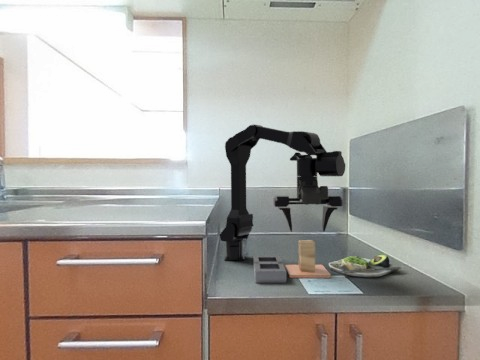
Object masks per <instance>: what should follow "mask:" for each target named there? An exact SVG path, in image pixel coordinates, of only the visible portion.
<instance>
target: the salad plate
mask: <svg viewBox="0 0 480 360" xmlns="http://www.w3.org/2000/svg"><path fill="white" fill-rule="evenodd" d="M343 266H345V267H346V268H347V269H341V267H343ZM328 267H329V268H330V269H331V270H333V272H336V273H338V274H343V275H345V276H348V277H349V276H351V277H359V278H378V277H382V276H386V275H390V274H393V273H394V272H396V271H398V270H401V269H402V267H400V266H396V265H394V264H392V263H390V259H389V257H388V254H379V255H376V256H374V258H372V259H370V258H369V259H368V258H365V257H360V256H359V255H355V256H354V255H351V256H347V257H344V258H340V259H339V260H336V261H330V262H328Z"/></svg>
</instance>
